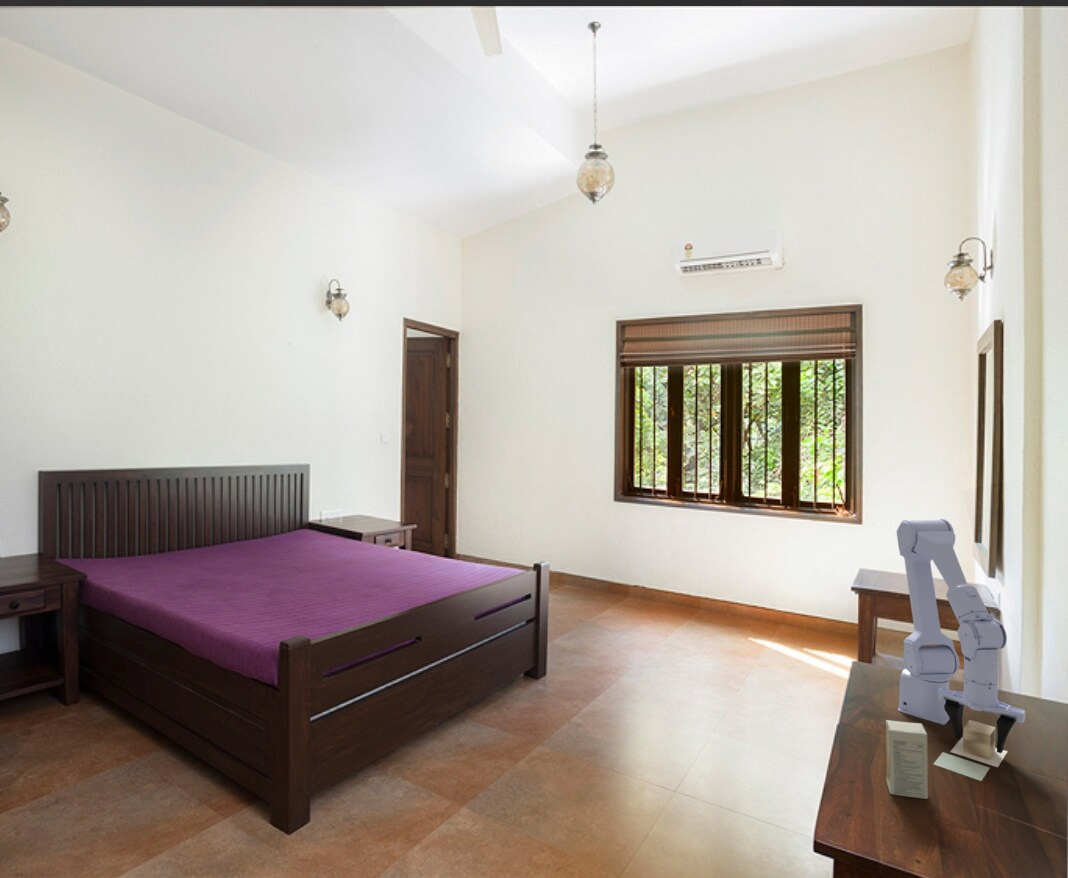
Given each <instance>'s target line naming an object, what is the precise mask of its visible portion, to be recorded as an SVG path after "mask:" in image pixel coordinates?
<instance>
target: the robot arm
mask: <svg viewBox="0 0 1068 878" xmlns="http://www.w3.org/2000/svg"><path fill="white" fill-rule="evenodd" d="M896 538H897V543H898V544H897V545H898V551H899V555H900V556H902V558H903V559H904V567H905V573H906V579H907V586H908V593H909V600H910V607H911V615H912V622H913V628H914V631H913V632H912V633H911V634H910V635H908V636H907V637H906V638H905V639H903V654H902V659H903V664H904V667H905V668H904V669H903V670H902V672H901V674H900V676H899V678H900V679H899V687H898V688H899V689H898V690H899V691H898V693H899V694H898V708H897V711H898V712H900V713H903V714H907V715H910V716H913V717H916V718H918V719H919V718H920V719H923V720H927V721H930V722H933V723H935V724H940V725H943V726H944V725H946V724H947V723H948V722H949V721H950V722H951V725H952V727H953V732H954V736H955V740H958V741H959V740H960V739H961V738H962V737H963V728H964V727H963V715H964V707H968V708H969V709H971V710H973V711H977V712H982V711H983V712H986V713H990V714H993V715H996V716H999V717H998V718H997V720H996V732H997V741H996V748H997V752H998V753H1002V751H1003V750H1004V748H1005V743H1006V740H1007V737H1008V735H1009V733H1010V732H1011V729H1012V728H1013V726H1014V725H1015V723H1016V722H1017V723H1020V724H1024V723H1025V721H1026V710H1025V709H1021V708H1018V707H1015V706H1012V705H1010V704H1007V703H1005V702H1002V701H1000V700H999V699H998V697H999V694H998V693H999V663H1000V661H999V660H1000V659H999V658H1000V657H999V656H1000V655H999V653H1000V650H1001V649H1003V648H1005V647H1006V646H1007V645H1006V644H1007V640H1008V639H1007V638H1008V636H1007V632H1006V629H1005V626H1004V625H1003V623H1002V622H1001V621H1000V620H998V619H997V618H995V617H996V616H994V615H993V614H991V613H990V612H988V609H987V607H986V605H985V604H984V601H983V599H982V597H981V595H980V593H979V591H978V589H977V588H976V587H975V586H974V585H971V584H969V583H968V582H967V579H966V577H965V574H964V572H963V569H962V566H961V565H960V562H959V559H958V557H957V554H956V552H955V549H954V546H955V544H956V534H955V530H954V528H953V526H952V524H951V523H950V522H949V521H948V520H947V519H946V518H944V519H943V518H940V519H922V520H915V519H914V520H910V519H904V520H902V521H901V522H900V524H899V525H898V528H897V530H896ZM931 562H933V563H934V565H935V566H936V569H937V570H938V572H939V573H940V575H941V577H942V578H943V580H944V582H945V584H946V585H947V588H948V590H947V592H946V598H947V600H948V603H949V605H950V607H951V609H952V611H953V613H954V616H955V617H956V619H957V622H958V624H959V626H958V629H957V636H958V637H957V638H958V639H959V642H960V648H961V649H960V651H961V654H962V655H963V656H964V657H963V658H964V660H963V691H962V690H961V691H959V690H953V689H950V680H953V678H954V677H953V676H954V675H955V674H957V673H958V671H959V669H960V658H959V655H958V653H957V652H956V651H957V650H956V649H955V644H954V641H953V640H952V639H951V638H950V637H949V636H947V635H946V634H944V633H943V632H942V630H941V623H940V619H939V610H938V604H937V597H936V591H935V583H934V578H933V571H932V564H931Z"/></svg>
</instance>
